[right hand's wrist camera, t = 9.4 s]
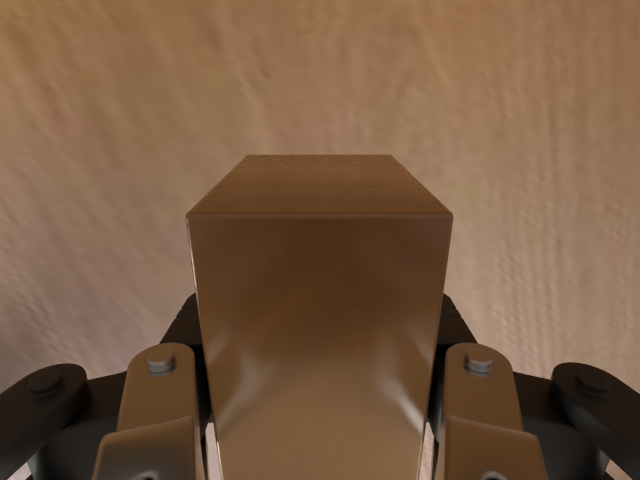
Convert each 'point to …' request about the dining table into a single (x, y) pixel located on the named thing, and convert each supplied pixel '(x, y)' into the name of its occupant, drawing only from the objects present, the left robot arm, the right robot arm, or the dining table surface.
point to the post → (319, 315)
